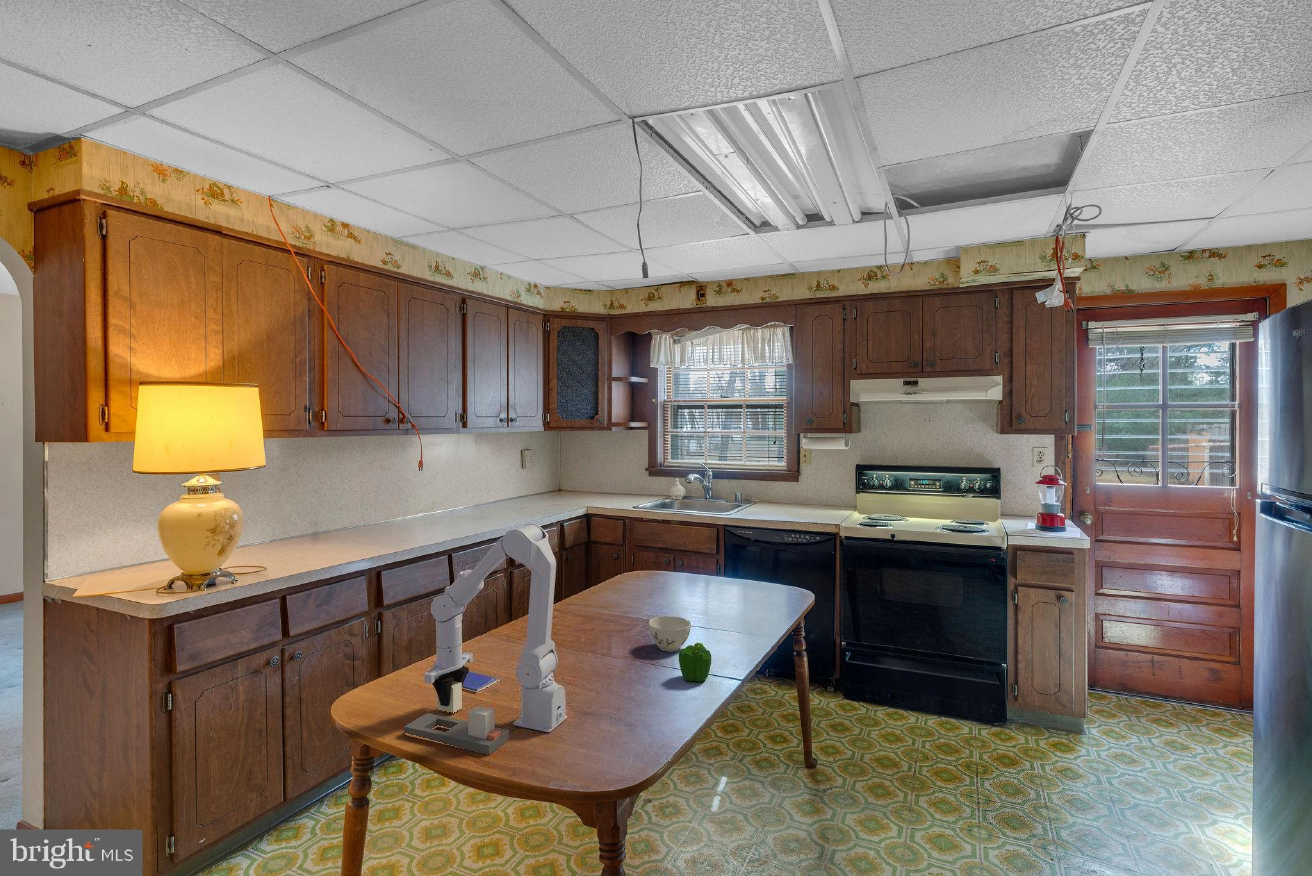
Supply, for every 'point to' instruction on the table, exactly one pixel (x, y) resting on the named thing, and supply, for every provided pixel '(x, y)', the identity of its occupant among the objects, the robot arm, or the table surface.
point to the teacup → (669, 632)
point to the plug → (453, 698)
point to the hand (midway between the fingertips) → (450, 702)
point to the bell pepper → (695, 662)
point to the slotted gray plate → (462, 730)
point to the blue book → (478, 681)
